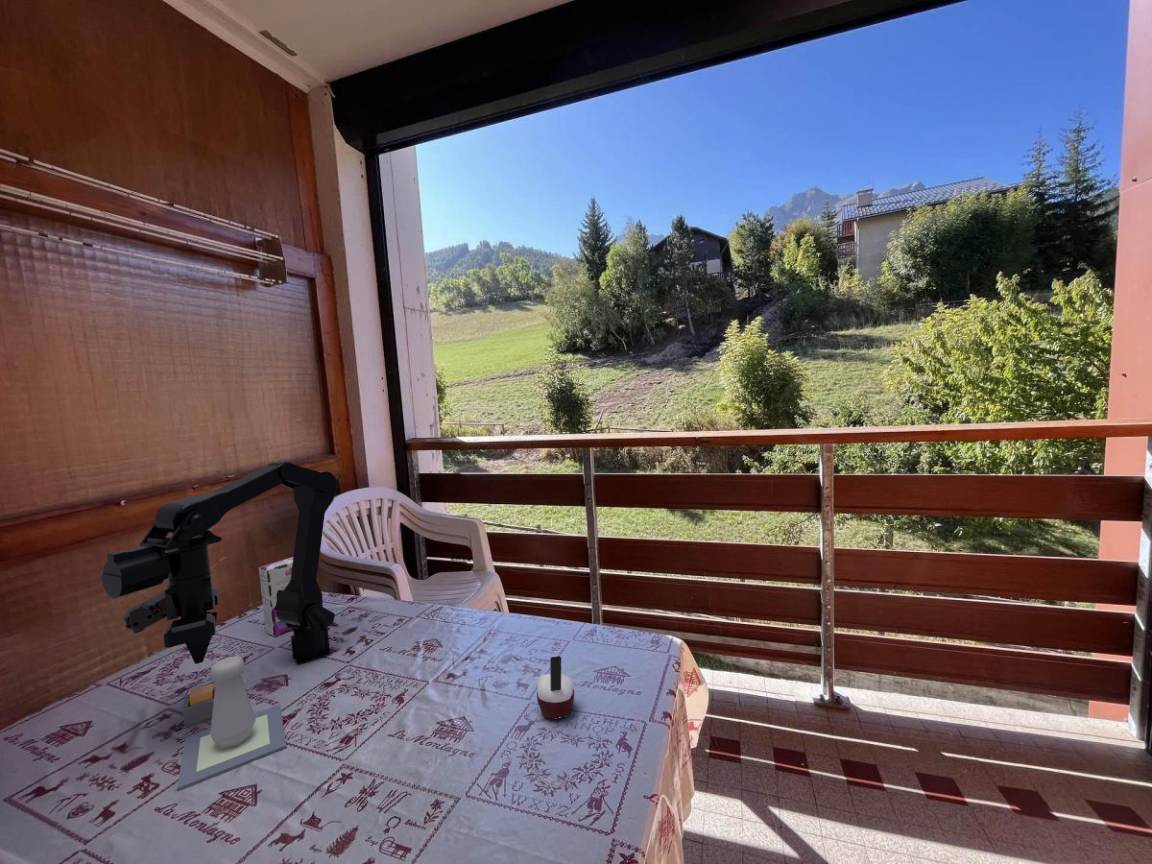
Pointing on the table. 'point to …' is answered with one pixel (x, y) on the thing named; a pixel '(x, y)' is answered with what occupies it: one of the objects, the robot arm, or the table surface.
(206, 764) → the grey flat square slab
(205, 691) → the push button
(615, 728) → the table surface
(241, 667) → the salt shaker
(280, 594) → the robot arm
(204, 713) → the button housing
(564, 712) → the cocoa
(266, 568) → the candy bar box
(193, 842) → the table surface
